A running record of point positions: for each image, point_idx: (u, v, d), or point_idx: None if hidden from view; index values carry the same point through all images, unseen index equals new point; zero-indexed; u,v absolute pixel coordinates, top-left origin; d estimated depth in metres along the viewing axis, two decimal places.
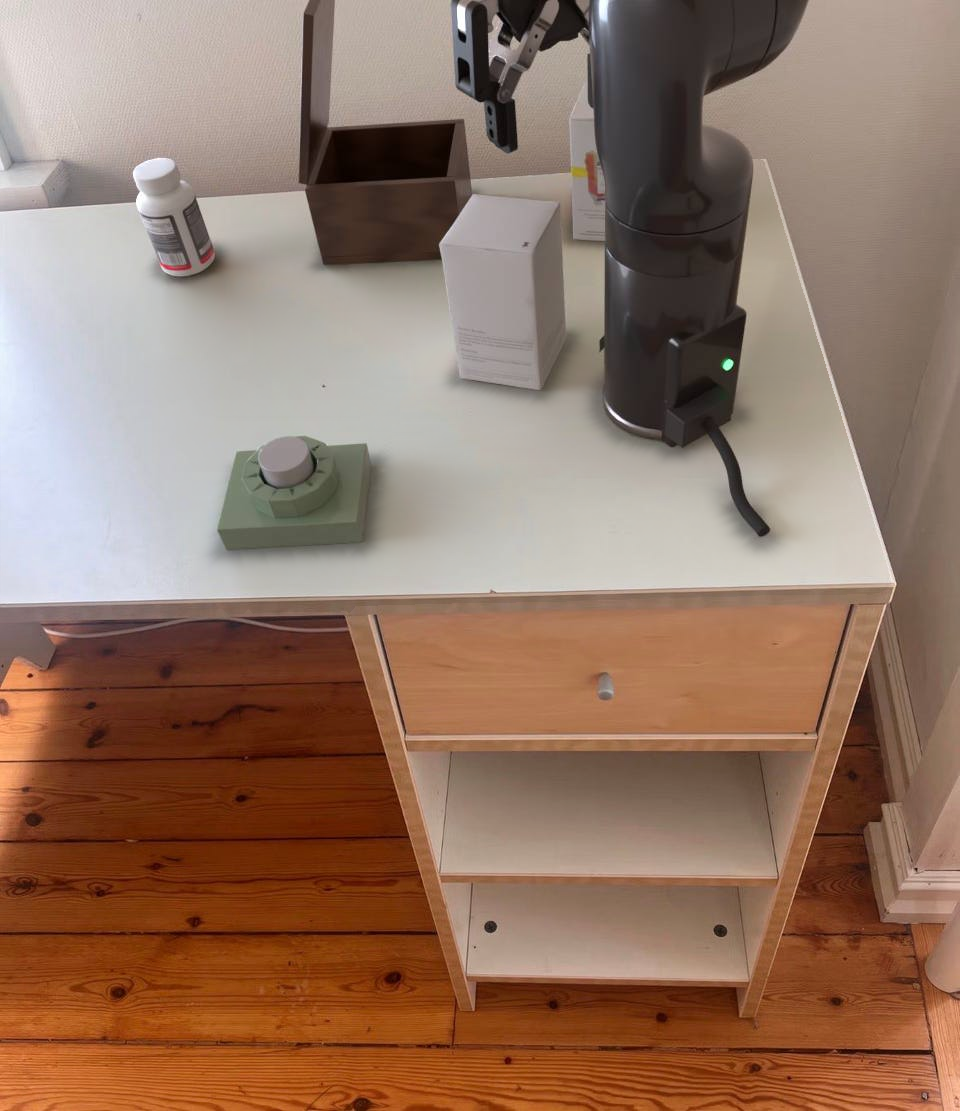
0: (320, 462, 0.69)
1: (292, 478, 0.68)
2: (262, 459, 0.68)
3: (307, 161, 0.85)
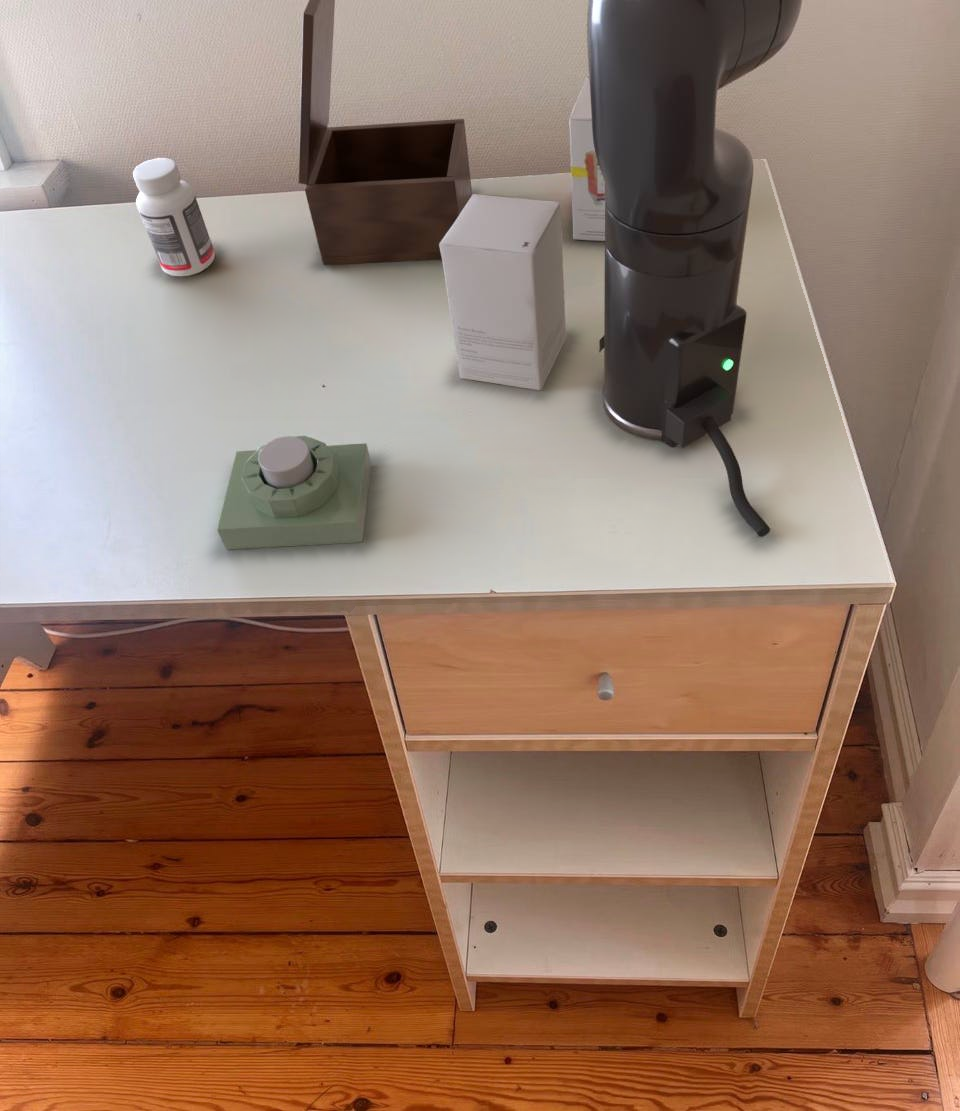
0: (320, 462, 0.69)
1: (292, 478, 0.68)
2: (262, 459, 0.68)
3: (307, 161, 0.85)
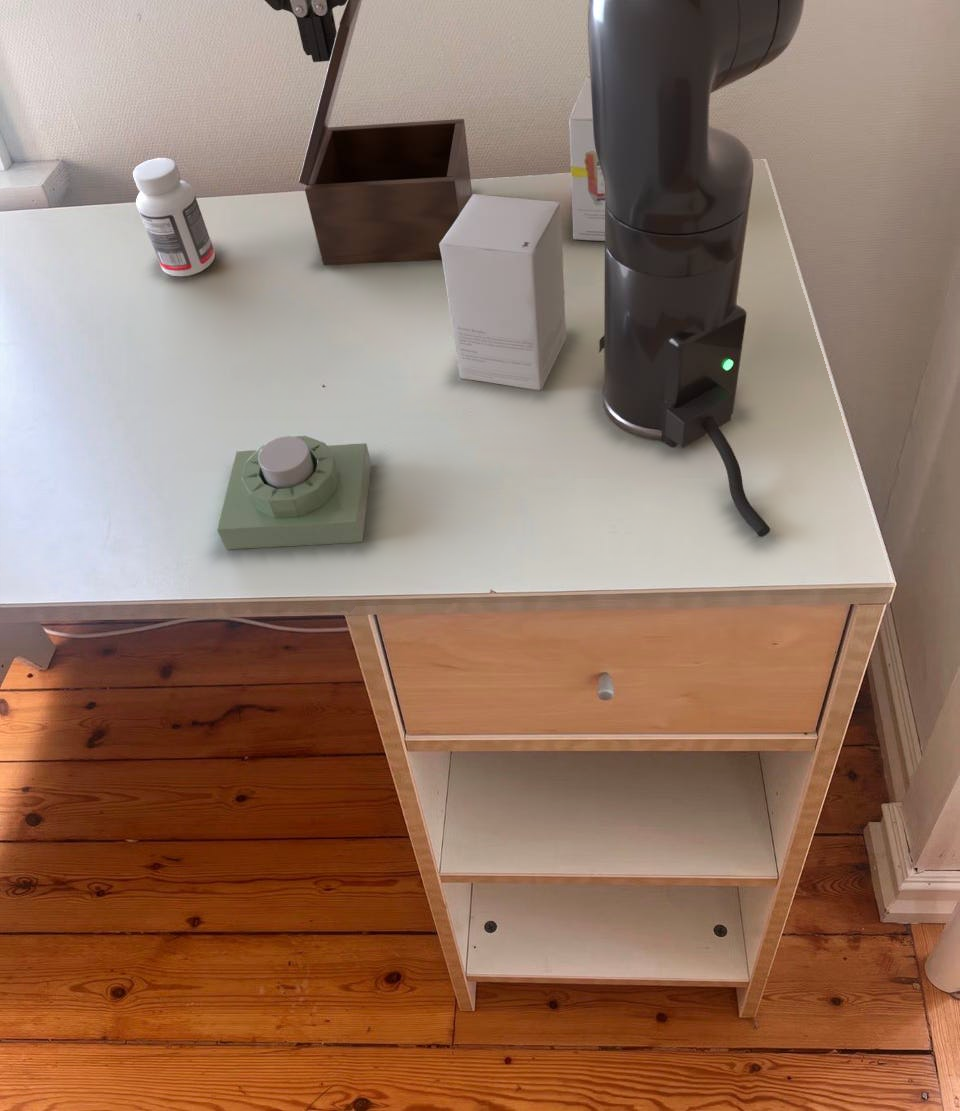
0: (320, 462, 0.69)
1: (292, 478, 0.68)
2: (262, 459, 0.68)
3: (312, 163, 0.85)
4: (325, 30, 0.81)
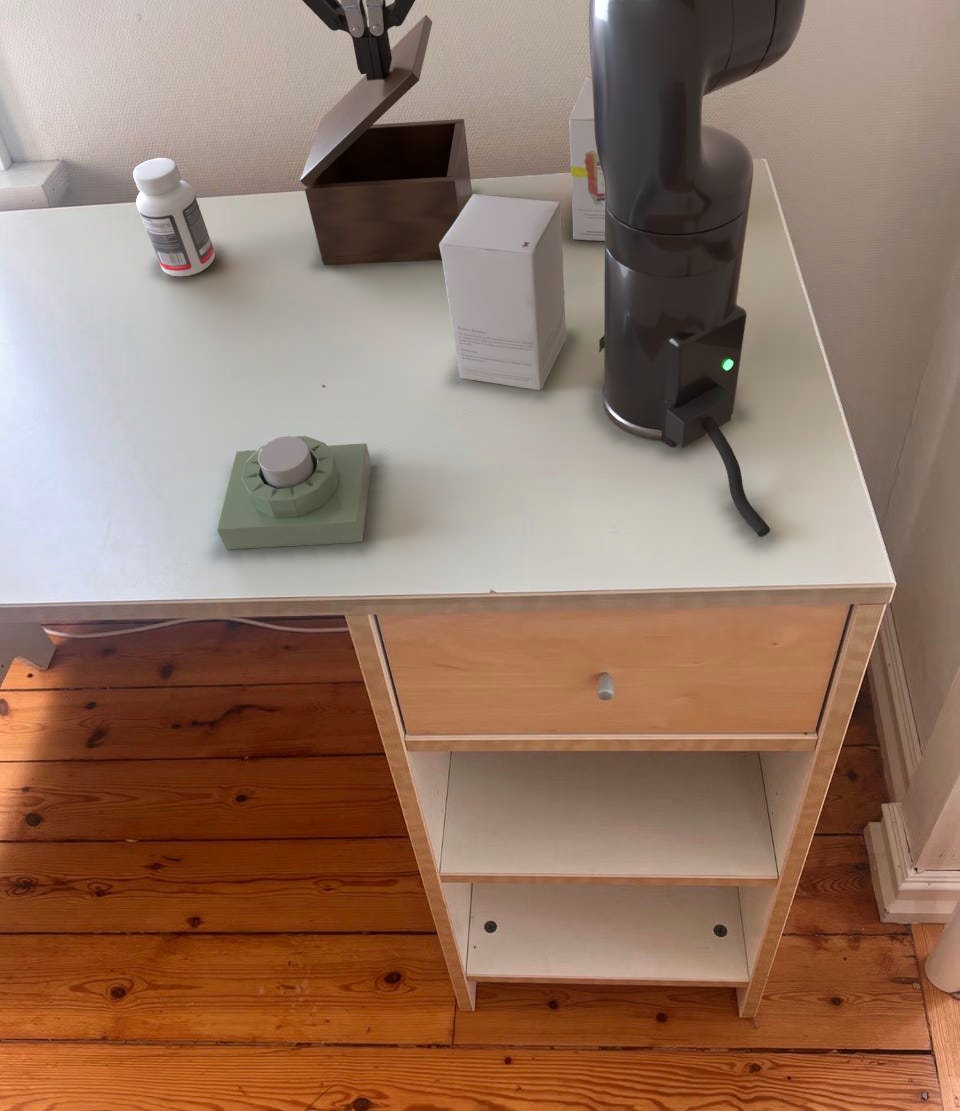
0: (320, 462, 0.69)
1: (292, 478, 0.68)
2: (262, 459, 0.68)
3: (322, 171, 0.86)
4: (381, 49, 0.82)
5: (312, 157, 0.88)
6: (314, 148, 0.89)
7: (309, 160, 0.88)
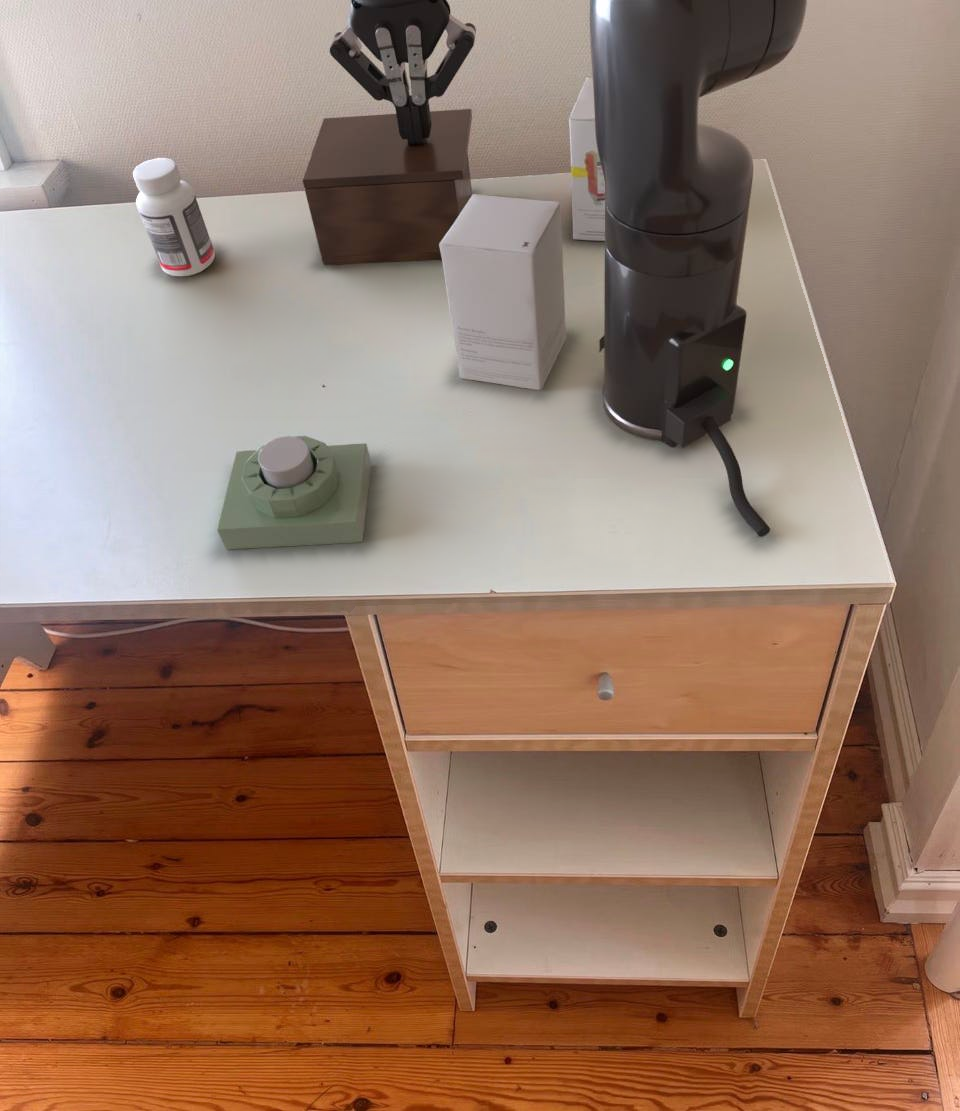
0: (320, 462, 0.69)
1: (292, 478, 0.68)
2: (262, 459, 0.68)
3: (328, 186, 0.87)
4: (422, 117, 0.86)
5: (318, 162, 0.88)
6: (319, 152, 0.89)
7: (314, 163, 0.88)
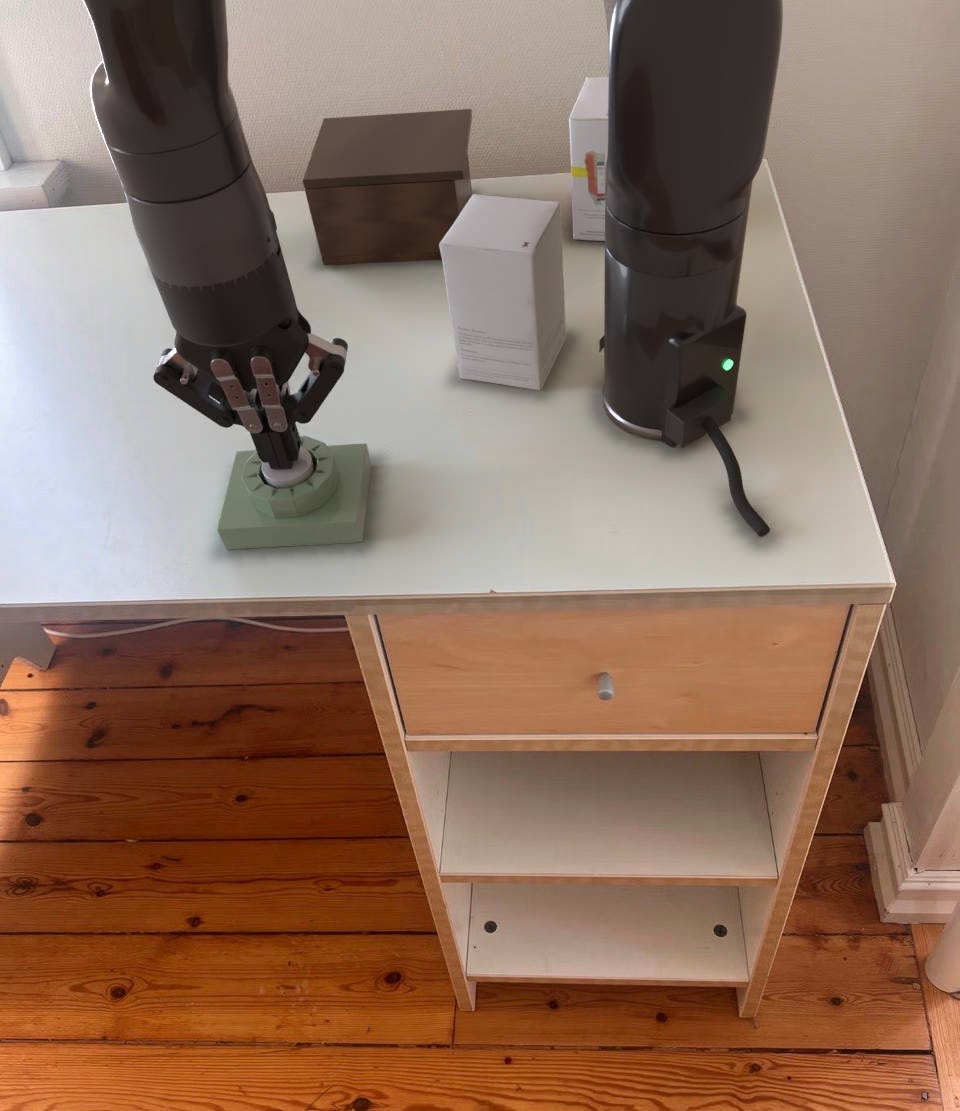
0: (320, 462, 0.69)
1: None
2: (265, 468, 0.69)
3: (328, 186, 0.87)
4: (286, 441, 0.66)
5: (318, 162, 0.88)
6: (319, 152, 0.89)
7: (314, 163, 0.88)
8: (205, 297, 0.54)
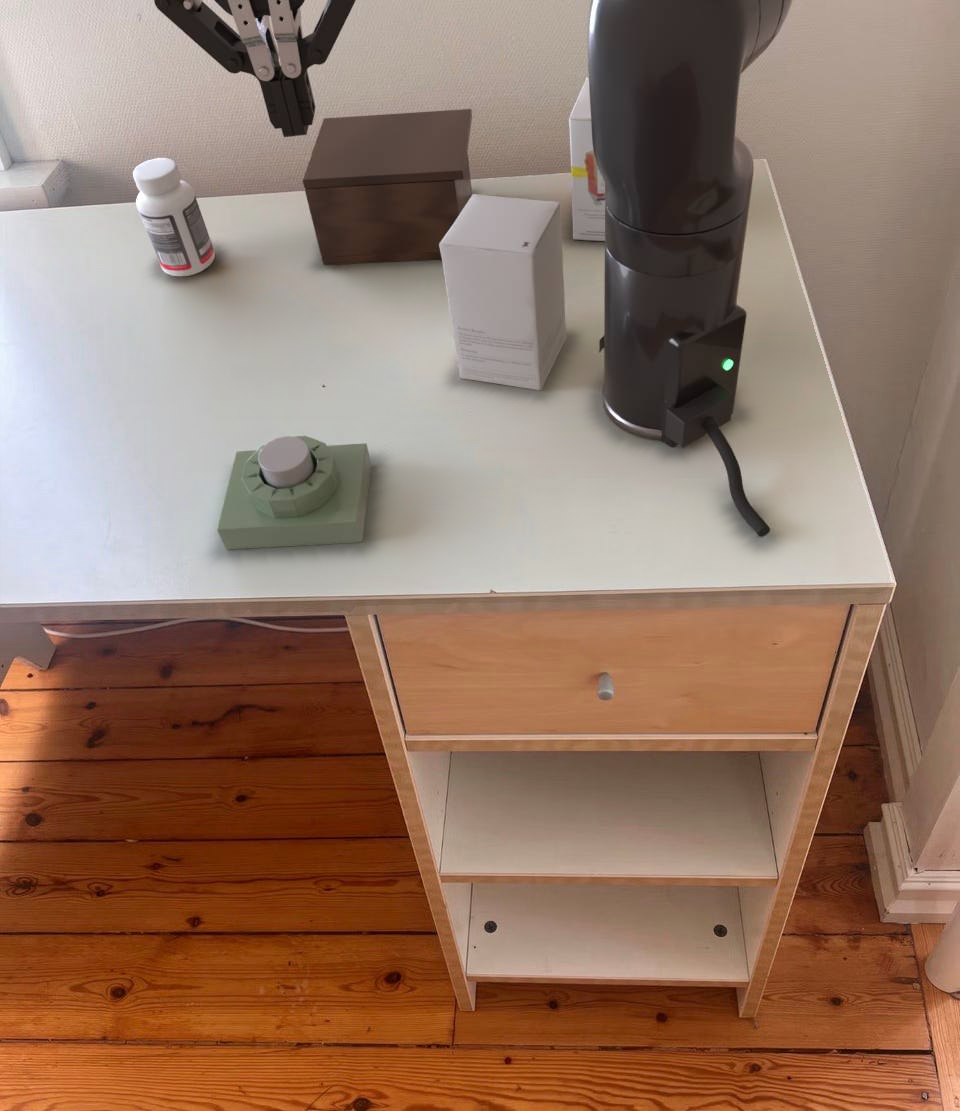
0: (320, 462, 0.69)
1: (292, 478, 0.68)
2: (262, 459, 0.68)
3: (328, 186, 0.87)
4: (299, 96, 0.61)
5: (318, 162, 0.88)
6: (319, 152, 0.89)
7: (314, 163, 0.88)
8: None
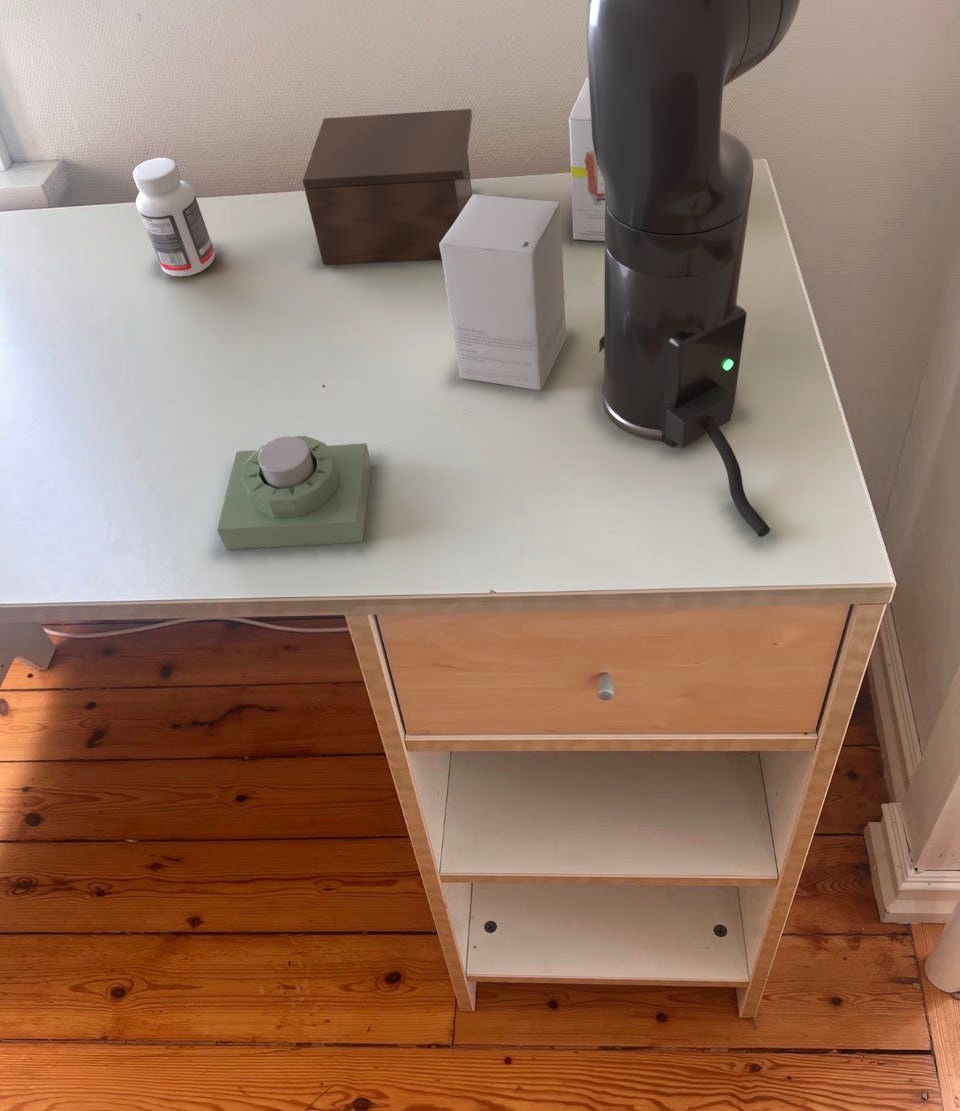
0: (320, 462, 0.69)
1: (292, 478, 0.68)
2: (262, 459, 0.68)
3: (328, 186, 0.87)
4: None
5: (318, 162, 0.88)
6: (319, 152, 0.89)
7: (314, 163, 0.88)
8: None
